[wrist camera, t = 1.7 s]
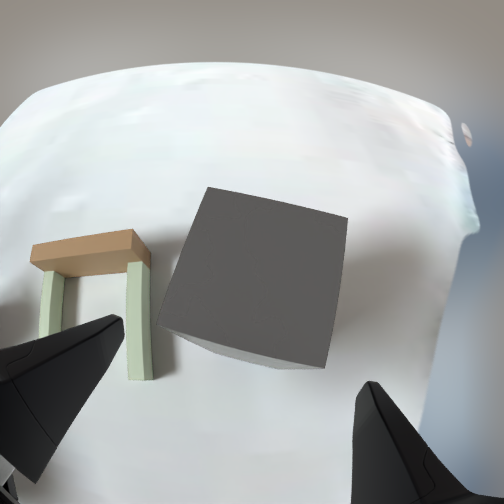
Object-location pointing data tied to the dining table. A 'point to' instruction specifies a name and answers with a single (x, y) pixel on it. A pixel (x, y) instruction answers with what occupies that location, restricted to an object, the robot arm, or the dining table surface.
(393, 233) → the dining table surface
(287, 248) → the block
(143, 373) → the keeper
